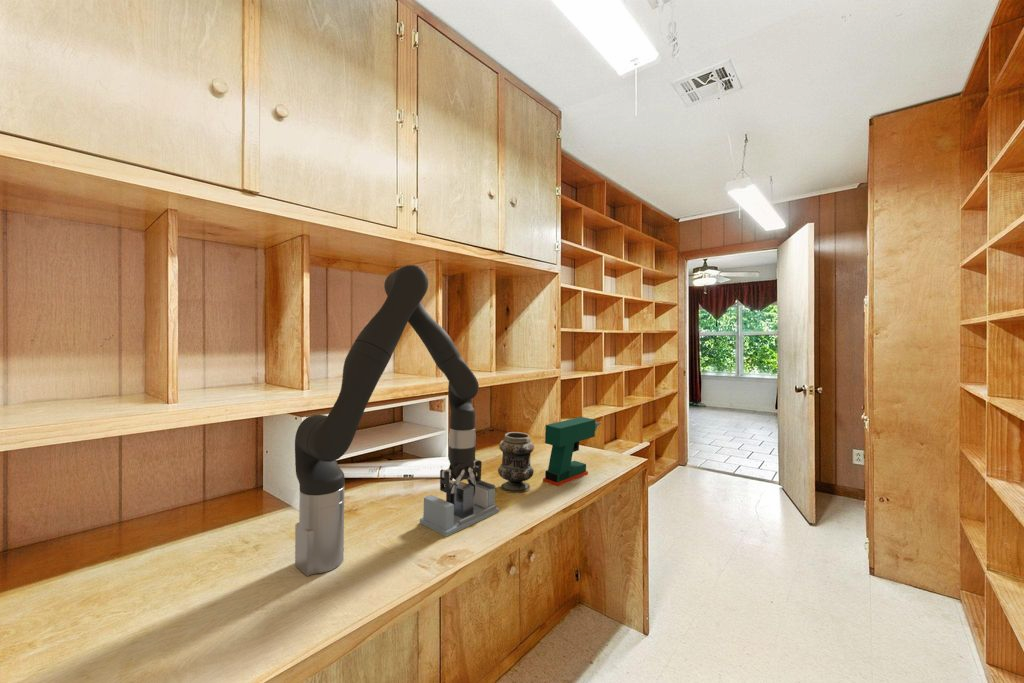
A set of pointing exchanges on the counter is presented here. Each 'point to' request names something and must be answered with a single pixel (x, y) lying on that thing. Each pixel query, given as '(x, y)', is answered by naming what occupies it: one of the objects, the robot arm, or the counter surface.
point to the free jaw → (484, 494)
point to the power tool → (567, 448)
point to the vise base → (450, 516)
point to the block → (463, 500)
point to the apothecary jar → (516, 462)
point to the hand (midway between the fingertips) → (460, 501)
